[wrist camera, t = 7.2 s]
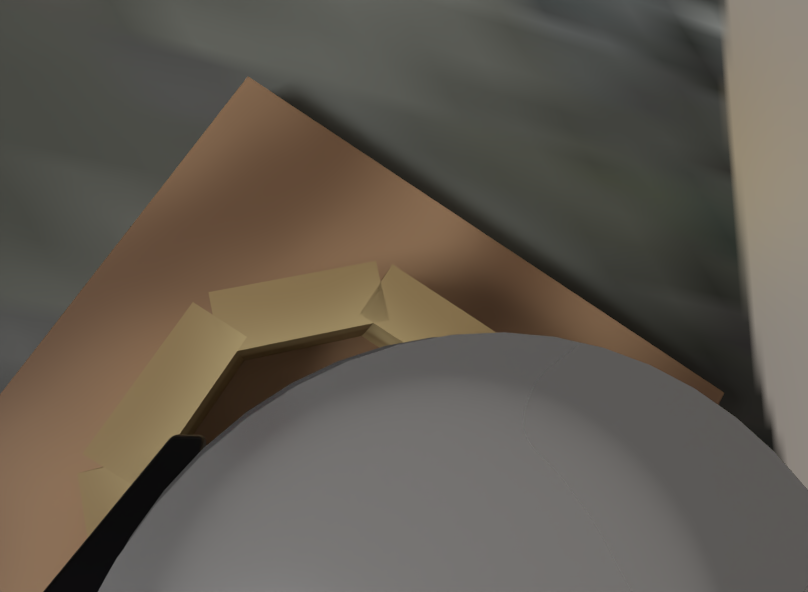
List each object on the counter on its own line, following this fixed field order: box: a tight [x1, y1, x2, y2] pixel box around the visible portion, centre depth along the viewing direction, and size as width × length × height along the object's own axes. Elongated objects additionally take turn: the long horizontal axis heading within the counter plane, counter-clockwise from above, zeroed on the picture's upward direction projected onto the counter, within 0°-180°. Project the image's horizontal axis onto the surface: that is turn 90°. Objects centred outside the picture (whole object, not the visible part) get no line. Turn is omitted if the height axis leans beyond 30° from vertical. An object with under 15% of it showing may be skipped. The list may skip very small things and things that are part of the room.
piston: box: [98, 332, 808, 592], centre depth 10 cm, size 5×5×13 cm
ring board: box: [0, 77, 724, 592], centre depth 16 cm, size 16×16×4 cm
